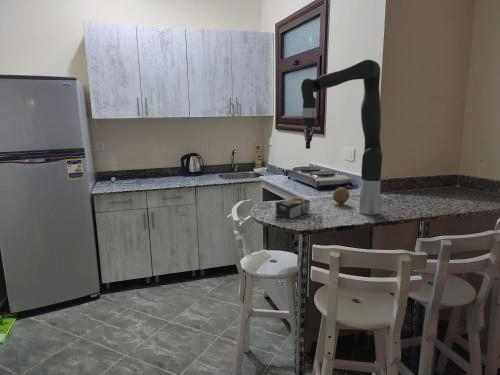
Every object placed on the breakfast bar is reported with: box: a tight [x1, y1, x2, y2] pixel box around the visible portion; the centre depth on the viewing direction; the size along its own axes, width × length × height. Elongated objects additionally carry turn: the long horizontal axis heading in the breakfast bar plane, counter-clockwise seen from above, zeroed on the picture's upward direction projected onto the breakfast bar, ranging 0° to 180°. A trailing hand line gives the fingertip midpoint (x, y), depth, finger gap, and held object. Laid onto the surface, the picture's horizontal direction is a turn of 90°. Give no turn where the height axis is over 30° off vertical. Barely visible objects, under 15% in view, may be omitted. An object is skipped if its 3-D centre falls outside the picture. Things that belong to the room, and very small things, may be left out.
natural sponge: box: [332, 186, 350, 205], centre depth 199 cm, size 9×9×10 cm
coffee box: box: [275, 196, 311, 220], centre depth 179 cm, size 9×6×16 cm
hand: (307, 148), depth 197 cm, fingers closed
